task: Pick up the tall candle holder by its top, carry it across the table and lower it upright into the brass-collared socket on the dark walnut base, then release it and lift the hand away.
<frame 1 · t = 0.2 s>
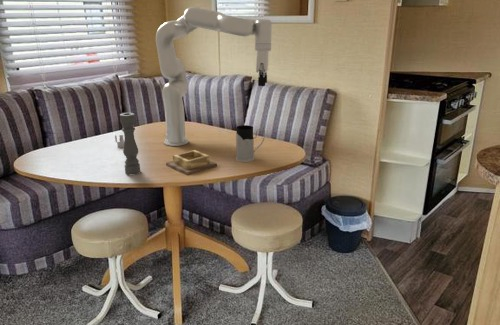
hand: (262, 84, 199), 31 cm above the table, tool pointing down, fingers open, 9 cm apart
socket base: (191, 165, 183), on the table
architectural model: (113, 146, 212), on the table
grey and black mug: (250, 158, 193), on the table
candle holder: (133, 172, 176), on the table
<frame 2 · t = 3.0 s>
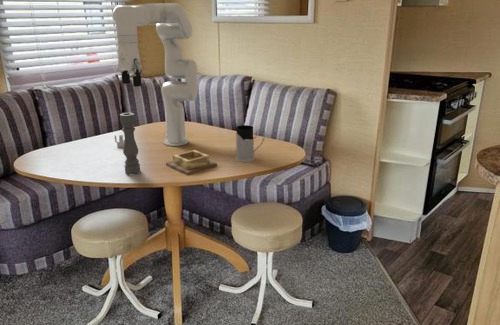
hand: (131, 84, 165), 36 cm above the table, tool pointing down, fingers open, 9 cm apart
nothing on the table moved.
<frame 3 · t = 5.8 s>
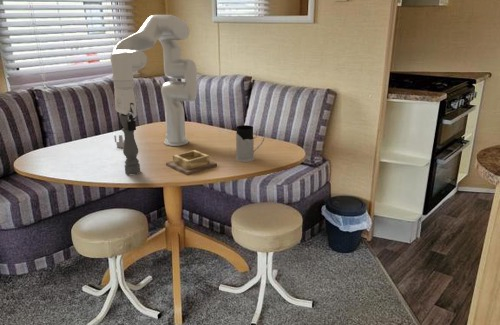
hand: (128, 128, 169), 19 cm above the table, tool pointing down, fingers closed on candle holder, 5 cm apart
candle holder: (132, 172, 176), on the table, touching gripper
everything else where it was.
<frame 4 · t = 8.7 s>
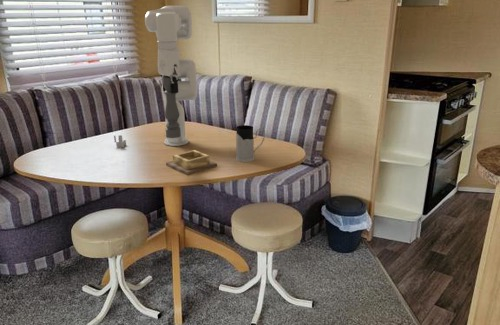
hand: (170, 91, 170), 33 cm above the table, tool pointing down, fingers closed on candle holder, 5 cm apart
candle holder: (173, 136, 177), point 14 cm above the table, touching gripper
everything else where it was.
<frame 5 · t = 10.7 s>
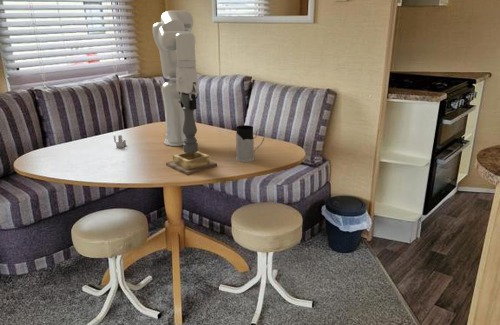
hand: (188, 107, 175), 26 cm above the table, tool pointing down, fingers closed on candle holder, 5 cm apart
candle holder: (190, 151, 181), point 7 cm above the table, touching gripper
everything else where it was.
when the fingers open (21 cm above the table, at t = 12.1 s): candle holder stays where it is, resting on socket base.
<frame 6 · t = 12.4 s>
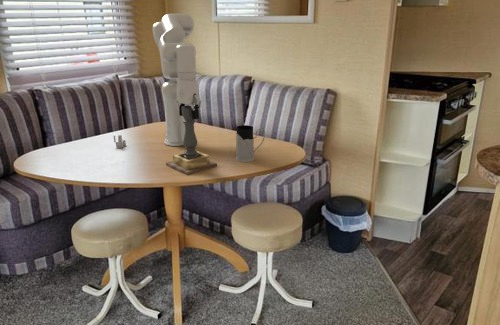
hand: (189, 117, 176), 22 cm above the table, tool pointing down, fingers open, 8 cm apart
candle holder: (191, 163, 183), point 1 cm above the table, touching socket base
everything else where it was.
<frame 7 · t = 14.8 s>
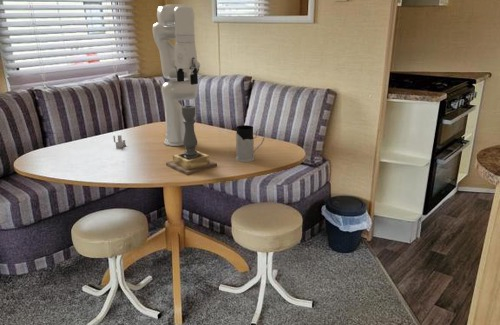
hand: (187, 82, 171), 36 cm above the table, tool pointing down, fingers open, 9 cm apart
nothing on the table moved.
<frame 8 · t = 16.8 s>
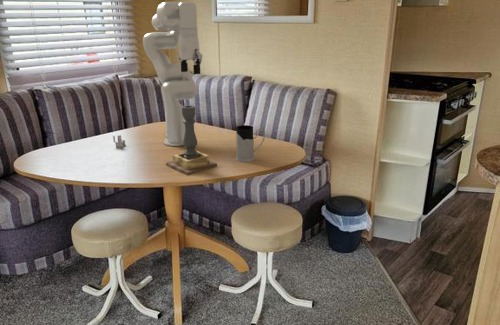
hand: (190, 72, 185), 38 cm above the table, tool pointing down, fingers open, 9 cm apart
nothing on the table moved.
at the end: candle holder 0.3 cm off-centre on the socket base, point 1.0 cm above the socket base's base; candle holder tilted 0°; the gripper is holding nothing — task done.
